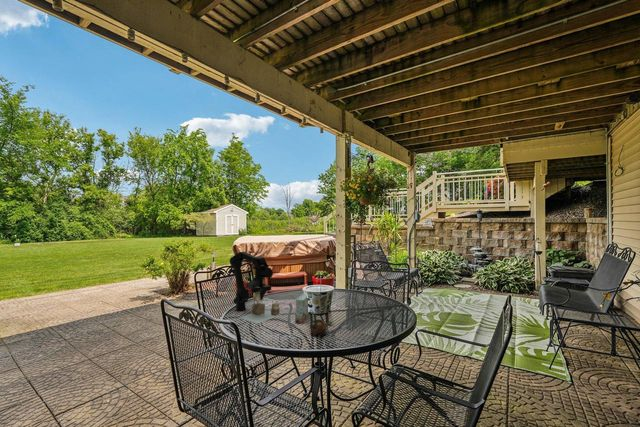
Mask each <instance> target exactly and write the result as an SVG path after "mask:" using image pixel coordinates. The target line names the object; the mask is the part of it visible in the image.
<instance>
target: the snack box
mask: <svg viewBox="0 0 640 427" xmlns="http://www.w3.org/2000/svg"><path fill="white" fill-rule="evenodd" d="M309 315H310V314H309V312H308V298H307V296H306V295H304V292H303V293H301V294H300V296H299V297H297V298H296V300H295V318H294V319H295V320H294V323H295V324H303V323H304V322H305V321H306V320H307V318H309Z"/></svg>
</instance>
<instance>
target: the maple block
mask: <svg viewBox="0 0 640 427" xmlns="http://www.w3.org/2000/svg"><path fill="white" fill-rule="evenodd" d="M252 293H253V292H252ZM252 301H254V302H256V303H260V302H262V301H265V296H264V297H263V299H262V300H260V292H259V291H258V292H256V293H253V296H252Z"/></svg>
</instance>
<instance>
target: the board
mask: <svg viewBox="0 0 640 427" xmlns="http://www.w3.org/2000/svg"><path fill="white" fill-rule="evenodd" d="M280 315H282V313H279V315H276V316H274V315H271V310H266V309H265V313H264V314H261V315H255V314H252V312H251V313H249V314H245V315H242V316H239V317H238V318H239V319H241V320H245V321H247V322H252V323H254V324H260V323H263V322H265V321H268V320H271V319H273V318H275V317H278V316H280Z"/></svg>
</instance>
